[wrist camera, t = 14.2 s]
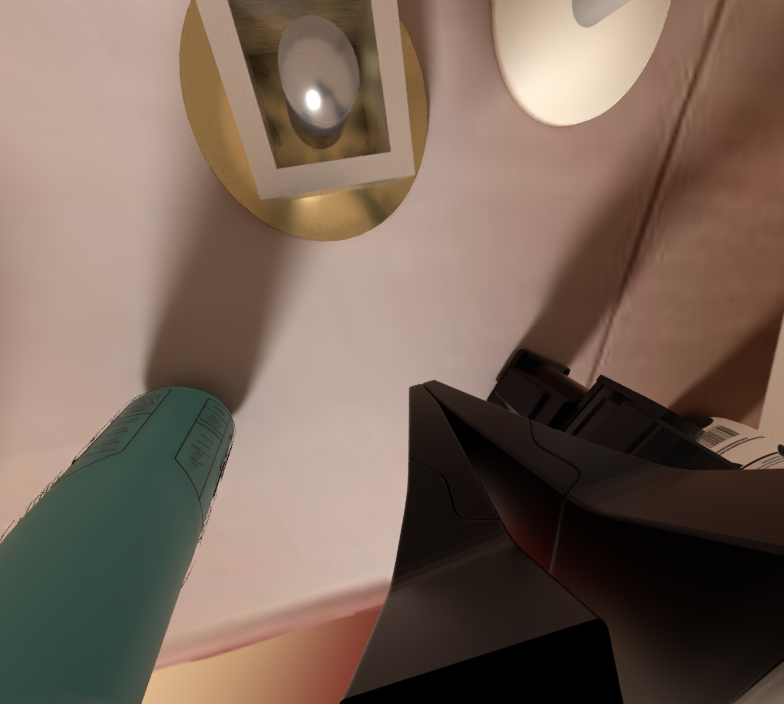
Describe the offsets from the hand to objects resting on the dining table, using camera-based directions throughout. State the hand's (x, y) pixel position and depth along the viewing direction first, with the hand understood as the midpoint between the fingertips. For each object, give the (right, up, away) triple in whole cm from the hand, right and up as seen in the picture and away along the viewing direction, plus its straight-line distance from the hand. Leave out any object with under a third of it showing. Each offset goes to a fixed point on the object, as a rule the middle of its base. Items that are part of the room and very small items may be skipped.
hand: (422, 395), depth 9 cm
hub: (-5, +14, +6) cm, 16 cm away
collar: (-5, +13, +6) cm, 15 cm away
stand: (+10, +21, +7) cm, 24 cm away
